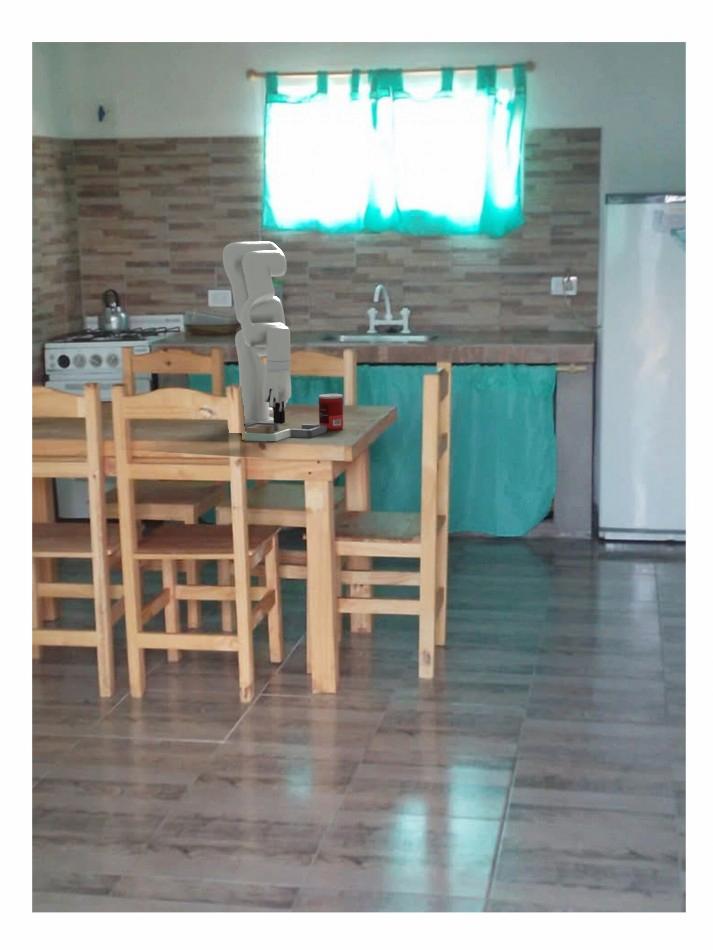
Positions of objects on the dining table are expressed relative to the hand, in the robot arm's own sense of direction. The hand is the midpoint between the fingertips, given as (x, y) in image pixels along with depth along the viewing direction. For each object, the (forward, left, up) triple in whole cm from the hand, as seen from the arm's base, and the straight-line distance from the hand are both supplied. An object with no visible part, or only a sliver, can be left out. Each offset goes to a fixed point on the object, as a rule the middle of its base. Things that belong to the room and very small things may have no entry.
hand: (279, 423), depth 395 cm
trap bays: (0, +1, -3) cm, 3 cm away
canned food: (-12, +13, -3) cm, 18 cm away
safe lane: (+10, +1, -3) cm, 11 cm away
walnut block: (+12, 0, -3) cm, 12 cm away
